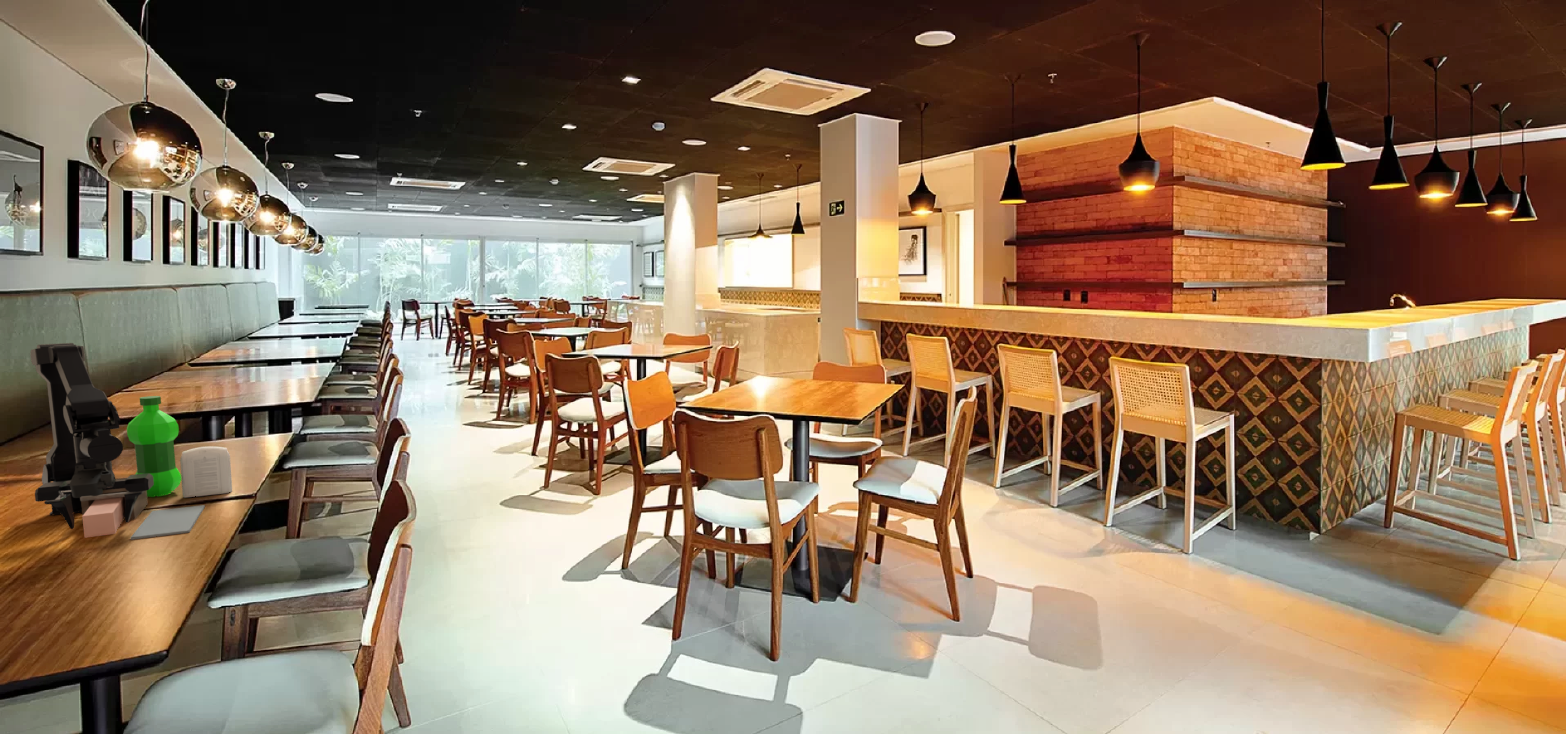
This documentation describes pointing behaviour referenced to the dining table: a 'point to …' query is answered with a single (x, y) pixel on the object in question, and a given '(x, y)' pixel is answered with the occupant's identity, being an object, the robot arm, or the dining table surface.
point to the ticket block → (104, 516)
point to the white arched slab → (205, 471)
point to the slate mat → (168, 522)
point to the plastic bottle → (155, 446)
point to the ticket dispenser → (115, 493)
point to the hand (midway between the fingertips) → (100, 525)
